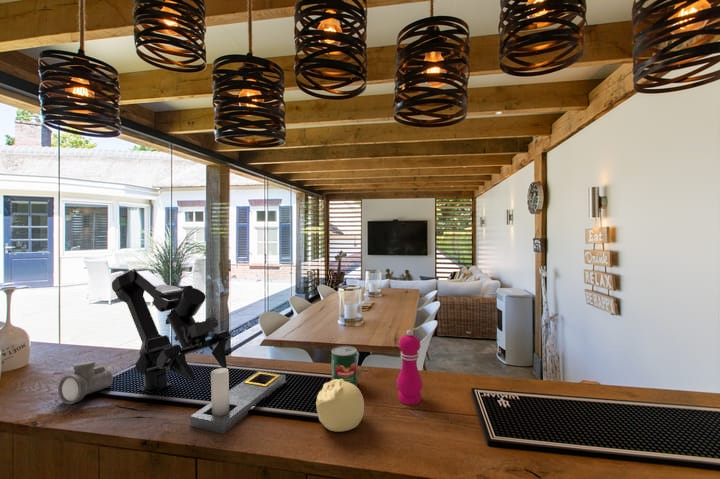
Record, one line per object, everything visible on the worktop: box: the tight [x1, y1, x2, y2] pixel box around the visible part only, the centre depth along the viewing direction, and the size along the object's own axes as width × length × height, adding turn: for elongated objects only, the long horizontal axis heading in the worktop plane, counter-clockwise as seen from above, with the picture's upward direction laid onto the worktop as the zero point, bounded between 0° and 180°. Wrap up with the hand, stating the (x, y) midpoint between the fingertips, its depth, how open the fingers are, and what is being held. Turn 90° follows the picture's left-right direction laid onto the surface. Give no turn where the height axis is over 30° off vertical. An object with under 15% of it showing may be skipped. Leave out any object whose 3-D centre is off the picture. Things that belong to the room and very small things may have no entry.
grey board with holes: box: [189, 370, 287, 434], centre depth 98 cm, size 28×10×3 cm, turn 161°
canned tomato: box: [331, 345, 358, 387], centre depth 108 cm, size 8×8×11 cm
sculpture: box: [315, 379, 365, 433], centre depth 87 cm, size 11×12×11 cm
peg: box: [210, 367, 230, 418], centre depth 89 cm, size 4×4×12 cm
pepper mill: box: [396, 329, 423, 406], centre depth 98 cm, size 7×7×20 cm
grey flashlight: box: [57, 360, 114, 405], centre depth 103 cm, size 12×8×10 cm
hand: (210, 374), depth 91 cm, fingers open, 9 cm apart
